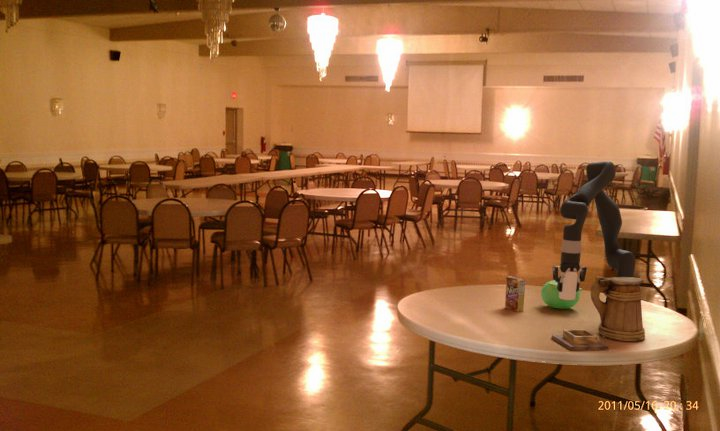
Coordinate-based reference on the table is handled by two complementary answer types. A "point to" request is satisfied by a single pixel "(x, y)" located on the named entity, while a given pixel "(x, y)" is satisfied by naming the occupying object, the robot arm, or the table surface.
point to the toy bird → (556, 296)
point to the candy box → (515, 293)
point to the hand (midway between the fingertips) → (567, 291)
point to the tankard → (619, 308)
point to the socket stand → (579, 340)
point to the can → (569, 286)
